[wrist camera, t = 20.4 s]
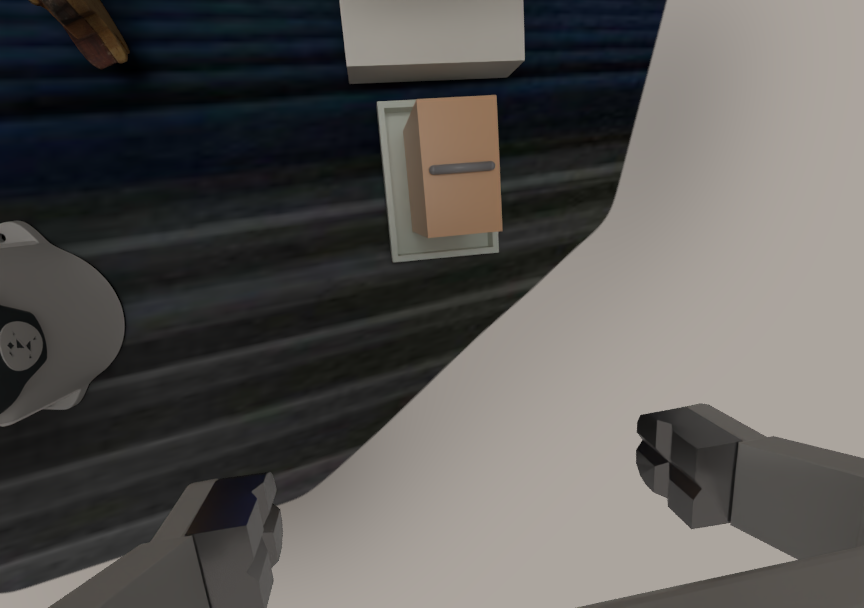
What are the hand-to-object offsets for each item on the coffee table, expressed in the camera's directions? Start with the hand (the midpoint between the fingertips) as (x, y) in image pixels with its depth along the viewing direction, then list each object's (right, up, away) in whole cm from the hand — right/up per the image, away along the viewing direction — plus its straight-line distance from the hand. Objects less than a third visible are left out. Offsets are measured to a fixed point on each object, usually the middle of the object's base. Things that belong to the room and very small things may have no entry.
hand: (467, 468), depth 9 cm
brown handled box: (0, +16, +34) cm, 38 cm away
